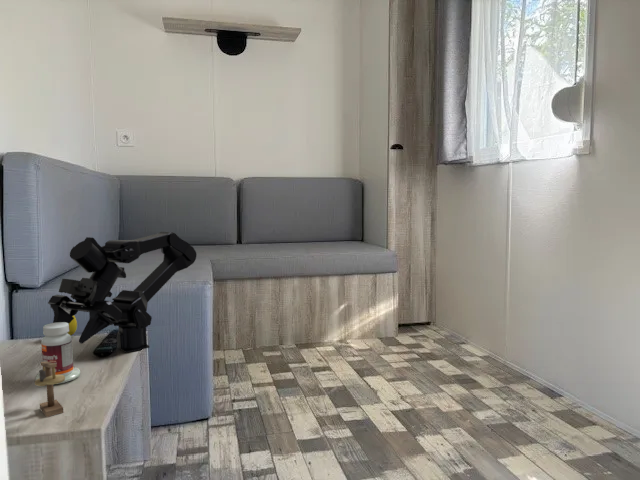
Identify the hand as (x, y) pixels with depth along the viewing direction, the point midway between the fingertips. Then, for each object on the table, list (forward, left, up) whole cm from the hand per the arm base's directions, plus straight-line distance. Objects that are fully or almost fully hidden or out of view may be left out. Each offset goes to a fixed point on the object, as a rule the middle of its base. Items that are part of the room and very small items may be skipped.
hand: (65, 340), depth 119 cm
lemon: (-8, -30, -8) cm, 32 cm away
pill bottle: (+2, +1, -7) cm, 8 cm away
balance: (+8, +18, -8) cm, 21 cm away
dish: (+2, +1, -8) cm, 9 cm away
